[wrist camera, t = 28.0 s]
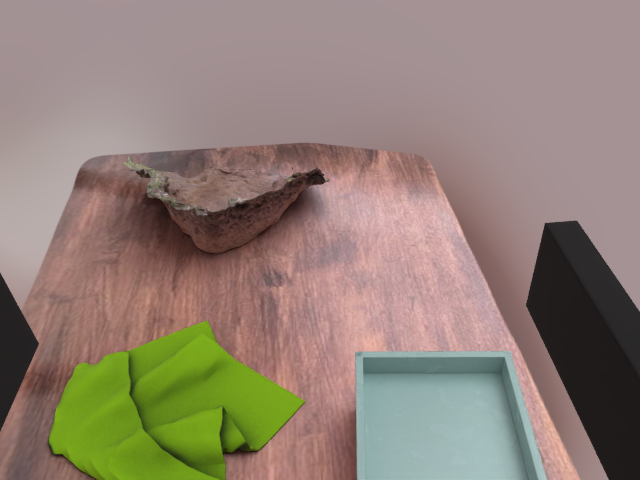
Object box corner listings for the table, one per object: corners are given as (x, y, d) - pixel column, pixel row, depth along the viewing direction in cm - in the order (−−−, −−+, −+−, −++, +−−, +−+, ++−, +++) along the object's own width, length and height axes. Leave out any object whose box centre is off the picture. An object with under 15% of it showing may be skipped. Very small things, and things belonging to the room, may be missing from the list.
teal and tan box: (552, 640, 36) (580, 592, 31) (359, 635, 37) (357, 587, 32) (496, 408, 49) (510, 350, 45) (356, 408, 50) (355, 351, 46)
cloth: (51, 366, 56) (42, 349, 54) (265, 305, 61) (263, 288, 60) (46, 576, 41) (34, 561, 39) (333, 471, 46) (331, 455, 44)
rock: (333, 190, 83) (328, 123, 79) (330, 266, 63) (323, 183, 59) (162, 199, 85) (147, 135, 80) (106, 276, 65) (83, 197, 61)
